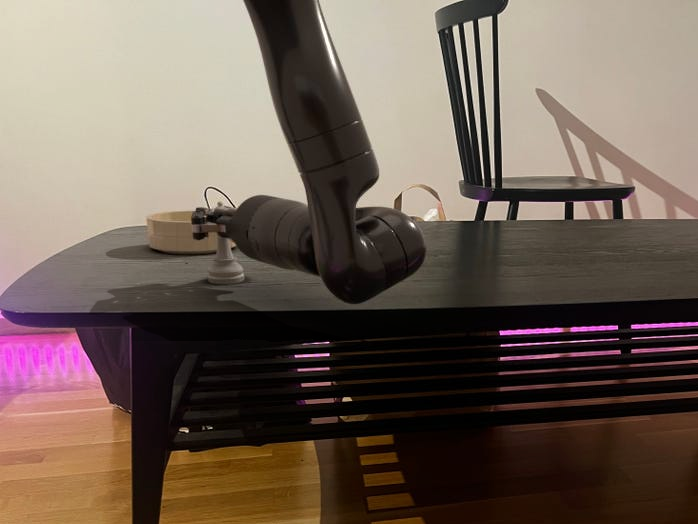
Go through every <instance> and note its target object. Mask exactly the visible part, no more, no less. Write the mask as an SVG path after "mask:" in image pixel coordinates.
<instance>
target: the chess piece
mask: <svg viewBox="0 0 698 524" xmlns="http://www.w3.org/2000/svg"><path fill="white" fill-rule="evenodd" d="M224 206H225V205H224V203H223V202H222V201H218V202H217V206H215V207H211V208H210V209H212V210H214V209H215V208H225V207H224ZM217 237H218V236H217ZM212 261H213V263H212V264H211V265H210V266H208V268H207V273H208V275H207V281H208V282H209V283H211V284H215V285H216V284H217V285H231V284H238V283H239V284H240V283H242V282H244V281H245V274H244V273H243V272H244V267H243V266H242V265H241V264H240V263H238V262H237V257H236V256H234V255H233V252H232V248H230V244H229V239H225V238H220V237H218V244H217V252H215V256H214V257H213V258H212Z"/></svg>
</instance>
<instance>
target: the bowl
mask: <svg viewBox="0 0 698 524" xmlns="http://www.w3.org/2000/svg"><path fill="white" fill-rule="evenodd" d="M194 211H196V209H195V210H170V211H163V212H161V211H160V212H155V213H151V214H147V215H146V216H145V223H146V230H147V232H146V233H147V240H148V246H149V248H151V249H154V250H157V251H160V252H163V253H167V254H176V255H204V254H205V255H206V254H214V253H215V254H216V253H217V244H218V237H217V235H216V233H215V232H208V233H209V237H205V238H204V239H201V240H196V239H193V233H192V223H191V216H192V213H193V212H194ZM229 244H230V248H231V249H232V248H235V247H237V246H236V244H235V243H234V242H231V240H230V239H229Z"/></svg>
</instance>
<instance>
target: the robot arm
mask: <svg viewBox="0 0 698 524" xmlns="http://www.w3.org/2000/svg"><path fill="white" fill-rule="evenodd" d="M242 1H243V3H244V6H245V8H246V11H247V13H248V16H249V19H250V22H251V24H252V27H253V30H254V33H255V36H256V40H257V44H258V47H259V50H260V54H261V58H262V63H263V67H264V72H265V77H266V81H267V85H268V90H269V93H270V97H271V98H270V99H271V101H272V106H273V109H274V112H275V114H276V118H277V121H278V124H279V127H280V130H281V132H282V135H283V138H284V140H285V142H286V144H287V147H288V150H289V152H290V154H291V158H292V159H293V162H294V165H295V167H296V169H297V172H298V173H299V177H300V180H301V182H302V184H303V187H304V191H305V196H306V203H304V202H301V201H299V200H295V199H289V198H283V197H277V196H272V195H267V194H257V195H253V196H251V197H248V198H247V199H244V200H243V201H242V202H241V203H240V204H239V206H238V207H232V206H228V205H223V206H224V207H225V208H216V207H214V208H215V209H214V210H212V209H211V208H207V207H203V206H198V207H195V210H196V211H195V210H194V212H193V213H192V216H191V223H192V233H193V239H196V240H201V239H204V238H205V237H209V233H208V232H215V233H216V235H217V236H218V237H220V238H225V239H230V240H231V242H234V243H235V244H236V246H235V247H236V248H237V249H238V250H239V252H240V253H242V255H244V256H246V257H247V258H249V259H251V260H254V261H257V262H260V263H264V264H267V265H270V266H273V267H276V268H279V269H283V270H287V271H297V272H301V273H304V274H307V275H310V276H315V277H320V279H321V281H322V283H323V285H324V286H325V287H326V289H327V290H328V292H330V294H331V295H333V296H334V297H335V298H336V299H338V300H340V301H341V302H343V303H345V304H349V305H359V304H362V303H365V302H368V301H370V300H372V299H374V298H375V297H377V296H379V295H380V294H382V293H383V292H385V291H388V290H389V289H390V288H392V287H394V286H396V285H398V284H399V283H401V282H403V281H404V280H406V279H408V278H410V277H412V276H413V275H414V274H415V273H417V272H418V271H419V269H421V267H422V266H423V263H424V262H425V259H426V255H427V243H426V238H425V235H424V233H423V231H422V229H421V228H420V226H419V225H418V223H416V221H415V220H414V219H413V218H411V217H410V216H409V215H407V214H406V213H404V212H403V211H401V210H398V209H397V208H393V207H388V206H361V207H360V206H359V207H357V204H358V202H359V200H360V199H361V198H362V197H363V196H364V194H366V193H367V192H368V191H369V190H370V189H372V188H373V187H374V185H376V183H377V182H378V180H379V179H380V168H379V164H378V163H379V162H378V160H377V157H376V154H375V152H374V149H373V145H372V142H371V140H370V138H369V135H368V131H367V128H366V126H365V123H364V120H363V119H362V115H361V113H360V110H359V107H358V104H357V102H356V99H355V97H354V94H353V90H352V89H351V86H350V83H349V81H348V78H347V75H346V72H345V70H344V68H343V64H342V62H341V60H340V57H339V54H338V52H337V49H336V47H335V44H334V41H333V38H332V36H331V33H330V30H329V28H328V25H327V22H326V19H325V16H324V12H323V10H322V9H323V8H322V6H321V3H320V0H242Z"/></svg>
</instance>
